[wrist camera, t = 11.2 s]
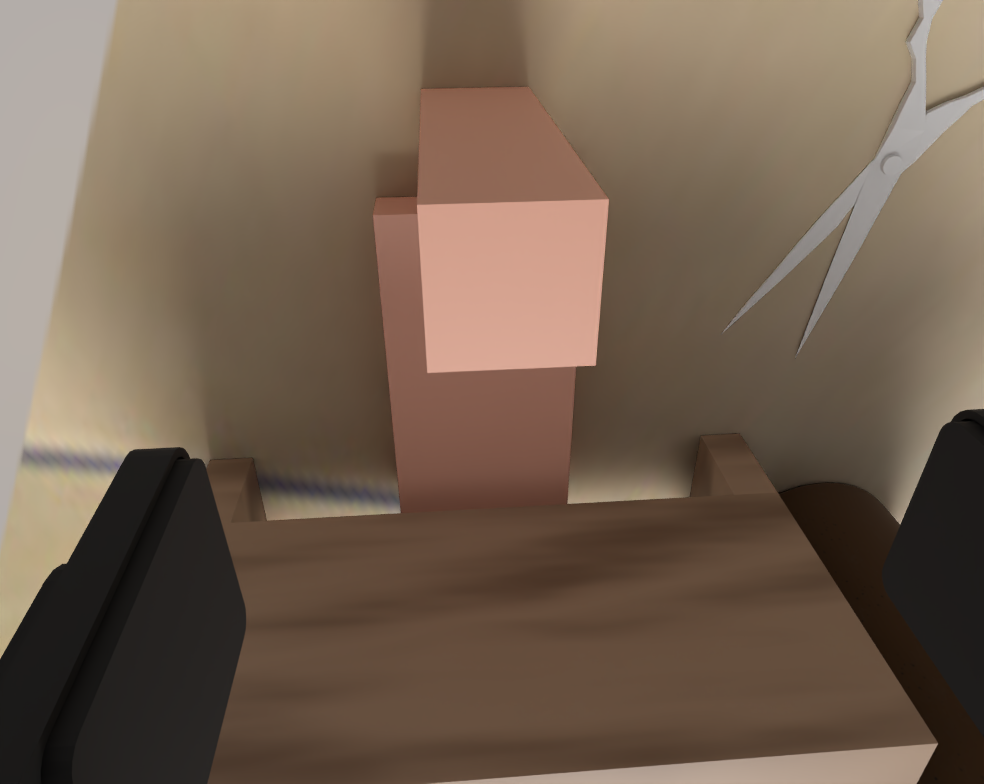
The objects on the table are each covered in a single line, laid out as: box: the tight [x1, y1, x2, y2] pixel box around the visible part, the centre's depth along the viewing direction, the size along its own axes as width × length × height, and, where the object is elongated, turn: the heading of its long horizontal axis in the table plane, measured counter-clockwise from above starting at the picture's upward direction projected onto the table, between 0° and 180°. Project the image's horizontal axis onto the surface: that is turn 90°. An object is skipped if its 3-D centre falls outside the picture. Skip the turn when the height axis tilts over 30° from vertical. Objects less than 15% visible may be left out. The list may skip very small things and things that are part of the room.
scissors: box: [722, 0, 984, 358], centre depth 29 cm, size 11×1×20 cm
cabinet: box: [206, 434, 938, 784], centre depth 31 cm, size 8×26×17 cm, turn 90°
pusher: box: [373, 87, 609, 513], centre depth 26 cm, size 19×8×14 cm, turn 0°
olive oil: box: [779, 483, 984, 784], centre depth 30 cm, size 11×11×25 cm
